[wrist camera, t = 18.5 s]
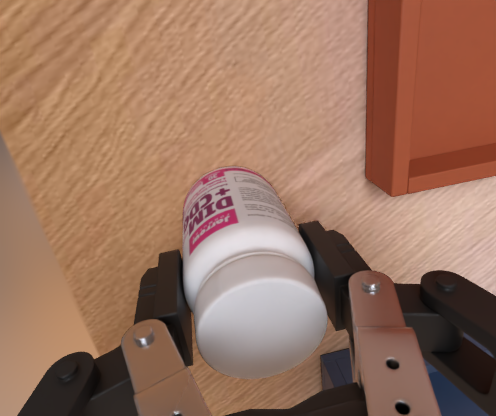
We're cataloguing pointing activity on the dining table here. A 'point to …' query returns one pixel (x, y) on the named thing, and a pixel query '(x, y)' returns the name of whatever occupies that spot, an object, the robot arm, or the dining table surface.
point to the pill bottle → (248, 277)
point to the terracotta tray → (430, 93)
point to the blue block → (452, 398)
